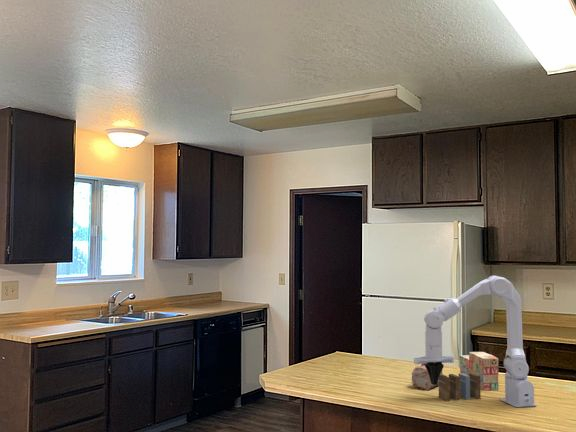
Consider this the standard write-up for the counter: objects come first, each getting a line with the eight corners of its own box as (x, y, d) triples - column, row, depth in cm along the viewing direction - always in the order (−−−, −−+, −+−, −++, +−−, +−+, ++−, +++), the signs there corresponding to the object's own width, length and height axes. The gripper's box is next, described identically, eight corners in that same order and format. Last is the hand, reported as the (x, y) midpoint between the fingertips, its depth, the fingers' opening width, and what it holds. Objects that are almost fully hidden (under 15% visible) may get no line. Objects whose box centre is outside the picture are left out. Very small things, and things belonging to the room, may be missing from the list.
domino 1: (442, 396, 205) (442, 374, 206) (449, 400, 200) (449, 377, 201) (438, 397, 205) (438, 374, 205) (445, 400, 200) (445, 377, 200)
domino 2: (452, 396, 206) (452, 373, 206) (460, 400, 201) (460, 376, 202) (448, 396, 206) (448, 374, 206) (456, 400, 201) (455, 377, 201)
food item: (429, 391, 212) (429, 365, 213) (410, 388, 217) (409, 362, 218) (444, 385, 223) (444, 359, 224) (425, 381, 228) (425, 356, 229)
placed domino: (462, 395, 207) (462, 373, 208) (470, 399, 202) (469, 376, 203) (458, 395, 207) (458, 373, 207) (465, 399, 202) (465, 376, 202)
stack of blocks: (459, 377, 235) (459, 347, 236) (474, 377, 236) (473, 347, 237) (483, 391, 214) (482, 357, 215) (499, 390, 215) (498, 357, 215)
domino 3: (472, 395, 208) (472, 372, 208) (480, 398, 203) (480, 375, 204) (468, 395, 208) (468, 373, 208) (476, 398, 203) (476, 376, 203)
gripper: (446, 342, 208) (447, 380, 207) (409, 343, 205) (410, 382, 204) (456, 345, 201) (457, 384, 201) (418, 347, 198) (419, 387, 197)
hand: (434, 384), depth 202 cm, fingers closed
